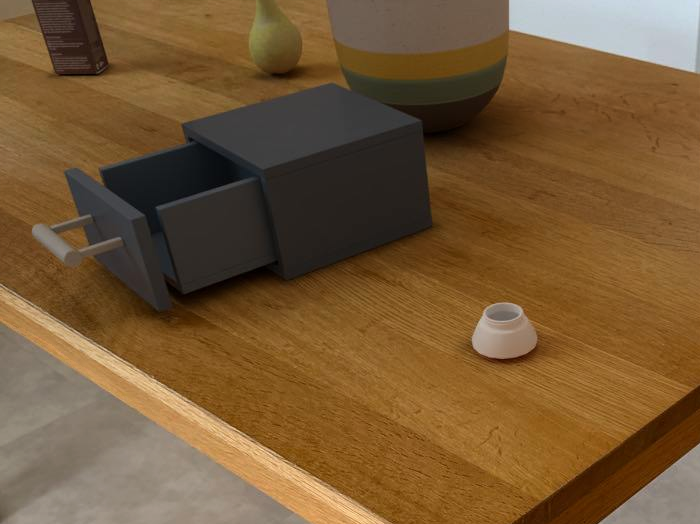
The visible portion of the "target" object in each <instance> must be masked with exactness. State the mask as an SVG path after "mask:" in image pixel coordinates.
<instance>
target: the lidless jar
mask: <svg viewBox="0 0 700 524" xmlns="http://www.w3.org/2000/svg"><path fill="white" fill-rule="evenodd" d="M471 344H472V348H473V349H474V350H475V351H476V352H477V353H478V354H480V355H482V356H485V357H487V358H490V359H491V358H492V359H500V360H501V359H502V360H504V359H513V358H518V357H521V356H524V355H526V354H528V353H529V352H531V351H532V350H534V349H535V347H536V346H537V344H538V334H537V331H536V329H535V327H534V326H533V325H532V323H531V321H530V319H529V318H528V316H526V314H525V312H524V309H523V308H522V307H521V306H519V305H518V304H515V303H512V302H496V303H493V304H490V305H487V307H486V308H484V309H483V312H482V316H481V317H480V319H479V321H478V323H477V325H476V327H475V328H474V331H473V333H472V335H471Z"/></svg>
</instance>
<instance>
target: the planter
mask: <svg viewBox="0 0 700 524" xmlns="http://www.w3.org/2000/svg"><path fill="white" fill-rule="evenodd" d="M325 2H326V3H325V4H326V8H327V13H328V19H329V24H330V29H331V34H332V39H333V44H334V45H333V46H334V49H335V52H336V56H337V60H338V63H339V66H340V69H341V72H342V75H343V77H344V79H345V82H346V84H347V86H348V89H349V90H351V91H353V92H356V93H358V94H360V95H363V96H365V97H368V98H370V99H372V100H375V101H377V102H379V103H382V104H384V105H387V106H389V107H391V108H394V109H396V110H398V111H401V112H403V113H405V114H408V115H410V116H413V117H415V118H417V119H420V120H422V128H423V130H422V131H423V134H430V133H439V132H445V131H446V132H447V131H449V130H453V129H456V128H458V127H461V126H463V125H465V124H467V123H468V122H470V121H471V120H473V119H475V117H477V116H478V115H479V114H480V113H481V112H482V111H484V109H485V108H486V107H487V106H488V105H489V104H490V102H491V101H492V100H493V98H494V97H495V95H496V94H497V92H498V90H499V89H500V86H501V84H502V81H503V78H504V76H505V70H506V66H507V62H508V61H507V60H508V53H509V44H510V43H509V41H510V0H325Z"/></svg>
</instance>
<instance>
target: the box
mask: <svg viewBox="0 0 700 524" xmlns="http://www.w3.org/2000/svg"><path fill="white" fill-rule="evenodd" d="M30 1H31V3H32V7H33V10H34V13H35V16H36V20H37V22H38V25H39V29H40V31H41V34H42V37H43V40H44V43H45V46H46V50H47V52H48V56H49V58H50V59H49V60H50V62H51V65H52V68H53V71H54V74H55V75H76V74H78V75H79V74H80V75H81V74H82V75H87V74H88V75H90V74H91V75H92V74H93V75H98V74H100V73H102V72H103V71H104V70H106V68H108V66H109V65H110V62H109V59H108V56H107V53H106V48H105V46H104V43H103V38H102V36H101V32H100V29H99V25H98V21H97V18H96V15H95V11H94V8H93V5H92V1H91V0H30Z"/></svg>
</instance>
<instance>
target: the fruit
mask: <svg viewBox="0 0 700 524" xmlns="http://www.w3.org/2000/svg"><path fill="white" fill-rule="evenodd" d="M248 51H249V55H250V57H251V60H252V62H253V63H254V65H255V66H256V67H257V68H258V69H260V70H261V71H262V72H264V73H267V74H276V75H287V72H289V71H291V70H293V69H294V68H295V67H296V66H297V65H298V63H299V62H300V60H301V57H302V55H303V54H302V53H303V38H302V35H301V32H300V30H299V29H298V27H297V26H296V25H295V24H294V23H293V22H292V20H291V19H290V18H289V17H288V16H287V15H286V14H284V12H283V11H282V9H281V8H280V7H279V5H278V4H277V3H276V2H275V0H255V16H254V20H253V23H252V26H251V29H250V32H249V35H248Z"/></svg>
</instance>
